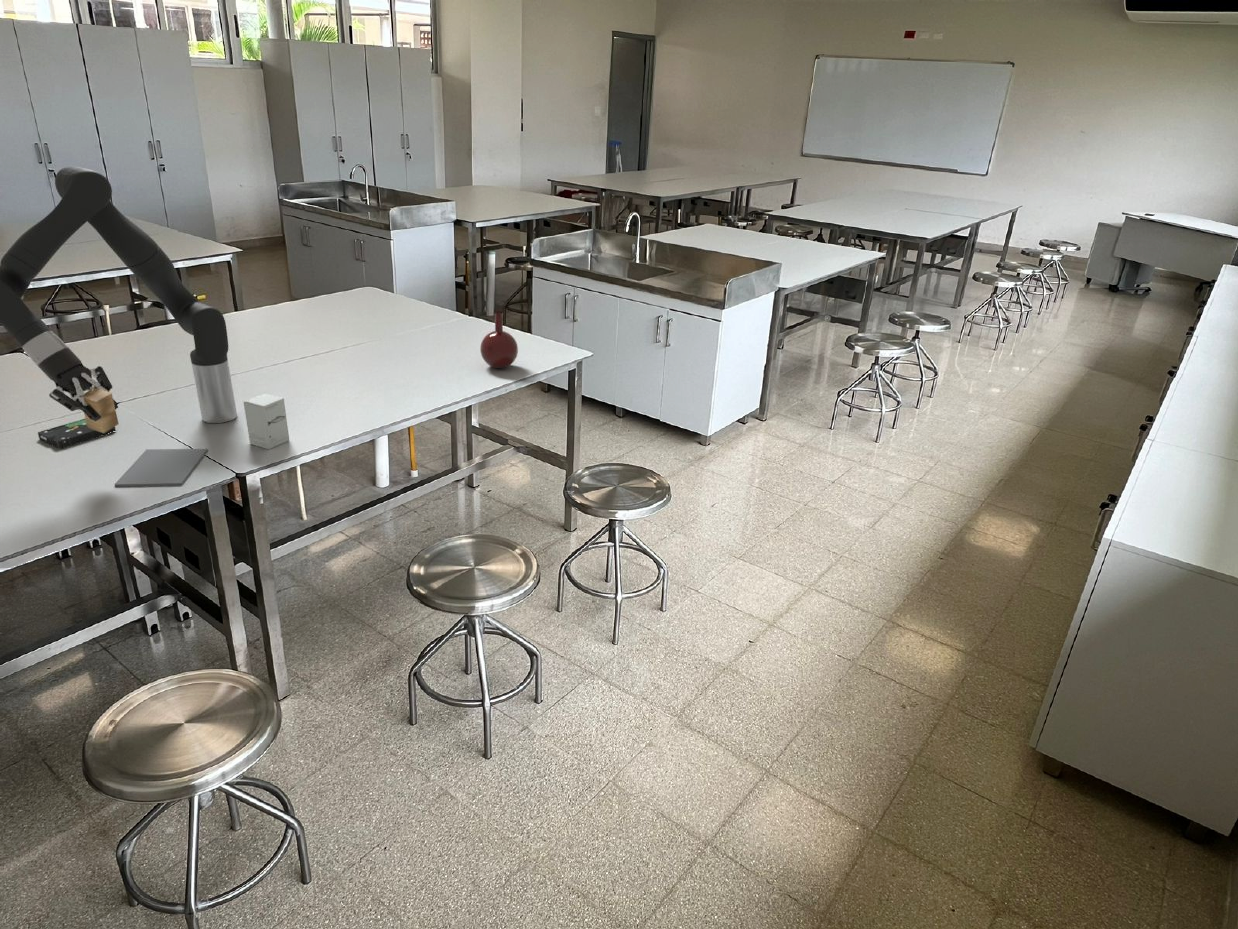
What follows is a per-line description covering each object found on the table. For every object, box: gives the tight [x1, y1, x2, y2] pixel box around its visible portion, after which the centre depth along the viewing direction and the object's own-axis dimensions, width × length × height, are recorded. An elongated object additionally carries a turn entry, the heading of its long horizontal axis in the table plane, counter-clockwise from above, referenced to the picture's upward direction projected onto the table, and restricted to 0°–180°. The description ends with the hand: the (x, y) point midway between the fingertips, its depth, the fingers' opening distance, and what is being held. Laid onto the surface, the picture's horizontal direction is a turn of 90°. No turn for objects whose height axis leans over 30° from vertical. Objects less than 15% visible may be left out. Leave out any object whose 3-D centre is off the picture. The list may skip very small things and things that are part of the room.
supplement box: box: [243, 393, 290, 450], centre depth 214 cm, size 7×7×13 cm
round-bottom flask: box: [479, 310, 519, 369], centre depth 278 cm, size 13×13×20 cm
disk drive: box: [37, 418, 117, 450], centre depth 214 cm, size 10×3×15 cm
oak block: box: [83, 388, 120, 433], centre depth 189 cm, size 4×4×9 cm
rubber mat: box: [113, 448, 209, 487], centre depth 200 cm, size 20×15×1 cm
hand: (106, 414), depth 189 cm, fingers closed on oak block, 4 cm apart
